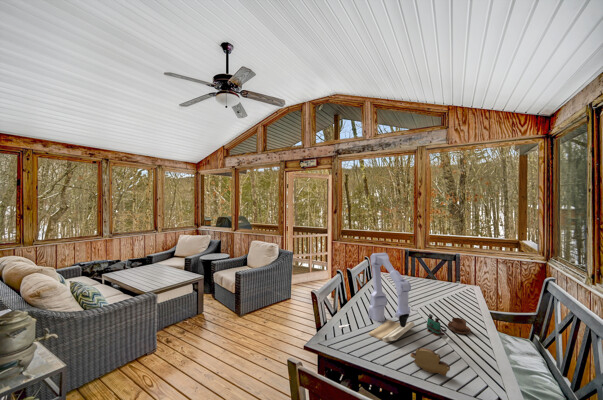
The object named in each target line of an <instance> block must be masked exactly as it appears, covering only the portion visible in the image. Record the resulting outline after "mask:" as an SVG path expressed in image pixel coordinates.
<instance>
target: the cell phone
mask: <svg viewBox="0 0 603 400" xmlns="http://www.w3.org/2000/svg"><path fill="white" fill-rule="evenodd" d="M349 325H350V324H349V323H348V324H342V325H338V326H339V327H338V328H339V329H340V328H341V329H340V330H343V329H345V328H347V327H348V326H349Z"/></svg>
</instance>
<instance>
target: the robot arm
mask: <svg viewBox="0 0 603 400" xmlns="http://www.w3.org/2000/svg"><path fill="white" fill-rule="evenodd" d="M369 258H370V266H371V270H372V271H371V272H372V273H371V274H372V284H373V292H371V293H370V299H369V303H370V305H369V306H368V318H369V319H371V320H373V321H376V322H384V321H385V308H386V306H387V305H388V298H387V295H386V293H385V292H383V285H382V284H383V283H382V274H381V272H382V271H381V267H382V265H383V267H384V268H385V269H386V270H387V272H388V273H389V277H390V279H391V280H392V281H393V283H394V284H395V285H394V287H395V290H396V294H397V309H396V312H395V313H394V315H395V316H394V317H395V318H397V319H398V321H399V323H400V325H401V327H405V326H406V323H408V319H409V317H410V314H411V307H410V306H409V292H410V291H411V289H412V286H411V283H410V281H409V280H407V279H404V277H403V276H402V275H401V273H400V272H399V271H398V270H397V269H395V268H394V266H393V265H392V263H391V262H390V257H389V255H388V253H387V252H375V253H374V252H373V253H372V254H371V255H370V256H369Z"/></svg>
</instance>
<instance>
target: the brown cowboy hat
mask: <svg viewBox="0 0 603 400" xmlns="http://www.w3.org/2000/svg"><path fill="white" fill-rule="evenodd" d="M447 327H448V329H450V330H451V331H452V332H454V333H457V334H463V335H465V334H470V333H471V332H472V329H471V328H470V327H469V326H467V320H466V319H463V318H460V317H452V319H451V321H450V320H449V322H448V324H447Z"/></svg>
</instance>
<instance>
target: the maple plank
mask: <svg viewBox="0 0 603 400" xmlns="http://www.w3.org/2000/svg"><path fill="white" fill-rule="evenodd" d="M414 326H415V323H414V321H411V322H410V321H409V322H406V326H405V327H401V325H400V326H399V327H397V328H396V329H395V330H393V331H392V332H390V333H389V334H388V335H386V336H385V337H383V338H382V340H383V341H382V340H381V341H382V342H385V343H387V342H392V341H397V340H398V339H399V338H400V337H402V336H403V335H404V334H405V333H406V332H408V331H409V330H411V329H413V328H414Z"/></svg>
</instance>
